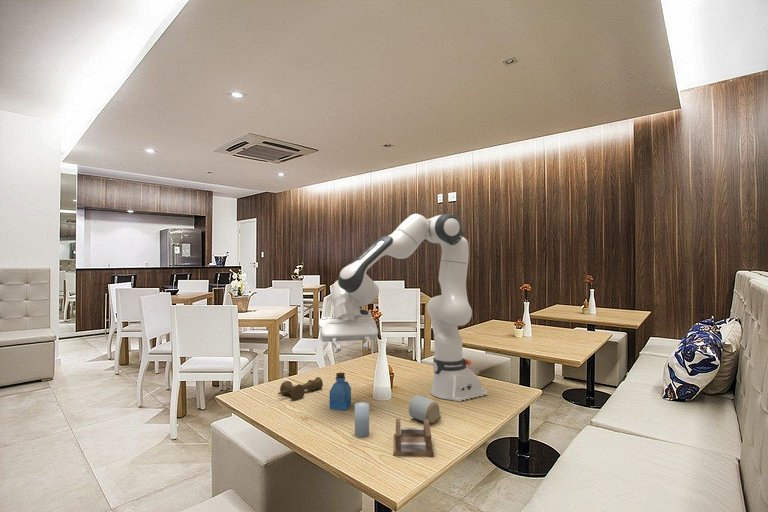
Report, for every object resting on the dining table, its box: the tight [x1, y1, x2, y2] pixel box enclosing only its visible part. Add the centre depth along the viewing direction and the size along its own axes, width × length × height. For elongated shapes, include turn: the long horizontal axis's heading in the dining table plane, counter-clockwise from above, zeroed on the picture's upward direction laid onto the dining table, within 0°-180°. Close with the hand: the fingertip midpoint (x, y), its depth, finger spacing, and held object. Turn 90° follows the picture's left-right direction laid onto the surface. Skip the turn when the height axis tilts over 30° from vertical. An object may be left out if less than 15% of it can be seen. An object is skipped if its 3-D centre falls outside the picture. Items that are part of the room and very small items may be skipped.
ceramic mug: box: [408, 394, 441, 425], centre depth 128 cm, size 11×8×8 cm
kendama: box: [277, 376, 324, 401], centre depth 152 cm, size 6×10×20 cm
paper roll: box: [354, 401, 370, 438], centre depth 117 cm, size 4×4×9 cm
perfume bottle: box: [329, 372, 352, 411], centre depth 140 cm, size 6×6×12 cm
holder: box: [392, 418, 435, 457], centre depth 109 cm, size 11×11×6 cm
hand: (352, 349), depth 129 cm, fingers open, 8 cm apart
